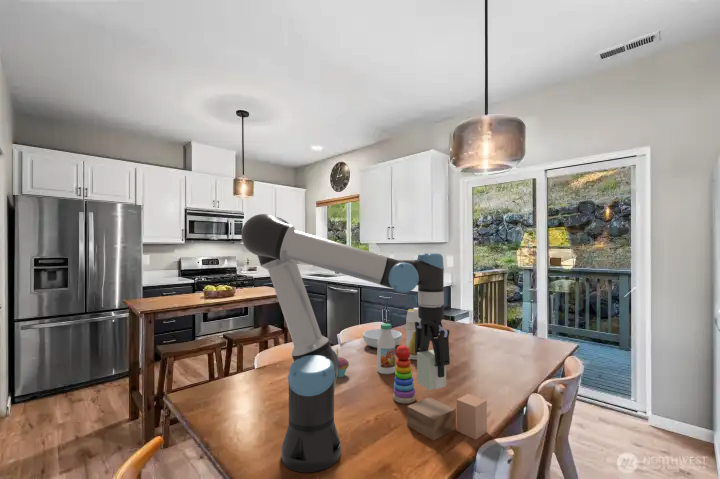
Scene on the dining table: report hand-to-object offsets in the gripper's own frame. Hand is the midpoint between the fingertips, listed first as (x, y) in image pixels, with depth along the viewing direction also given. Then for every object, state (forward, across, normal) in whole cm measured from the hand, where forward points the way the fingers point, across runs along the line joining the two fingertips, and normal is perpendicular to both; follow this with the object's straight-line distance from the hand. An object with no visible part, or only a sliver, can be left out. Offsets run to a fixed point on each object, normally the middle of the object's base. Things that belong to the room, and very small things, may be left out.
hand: (431, 383), depth 102 cm
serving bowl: (+13, +78, -28) cm, 84 cm away
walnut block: (+13, 0, 0) cm, 13 cm away
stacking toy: (+13, +19, -3) cm, 23 cm away
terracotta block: (+13, -7, -9) cm, 17 cm away
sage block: (0, 0, 0) cm, 0 cm away
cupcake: (+13, +50, +9) cm, 53 cm away
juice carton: (+13, +54, -33) cm, 65 cm away
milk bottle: (+13, +45, -11) cm, 48 cm away
